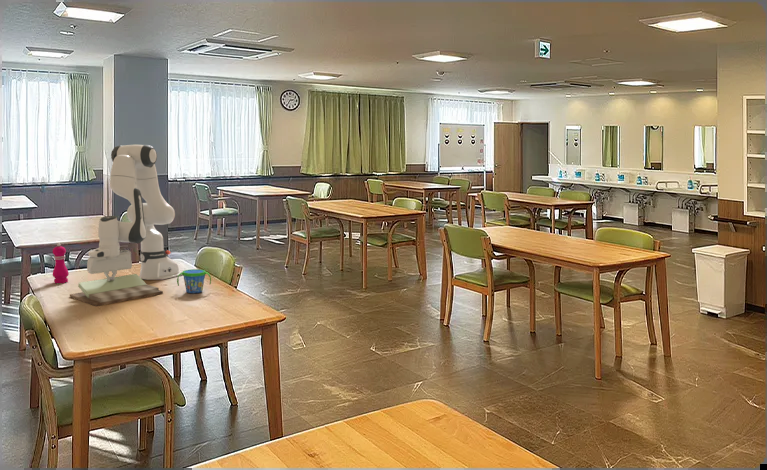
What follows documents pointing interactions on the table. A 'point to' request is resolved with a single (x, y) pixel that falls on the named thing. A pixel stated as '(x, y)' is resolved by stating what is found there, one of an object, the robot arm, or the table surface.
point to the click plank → (110, 284)
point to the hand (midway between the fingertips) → (110, 280)
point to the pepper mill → (60, 265)
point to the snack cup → (194, 280)
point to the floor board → (85, 299)
